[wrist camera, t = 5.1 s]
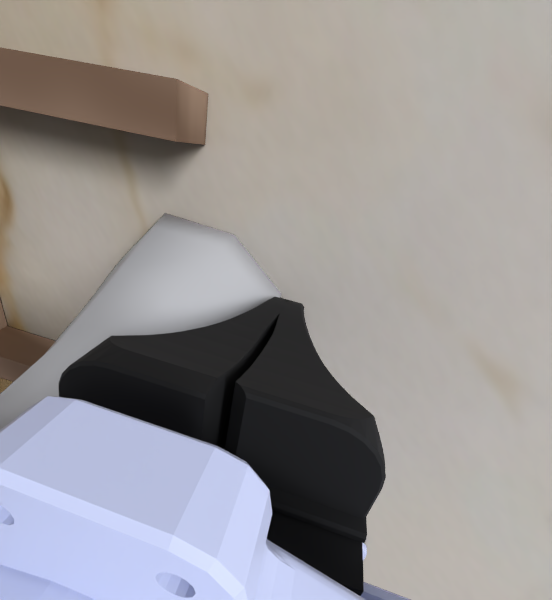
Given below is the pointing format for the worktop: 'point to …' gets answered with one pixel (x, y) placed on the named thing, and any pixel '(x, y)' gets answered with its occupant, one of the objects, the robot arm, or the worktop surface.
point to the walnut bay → (98, 111)
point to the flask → (151, 300)
